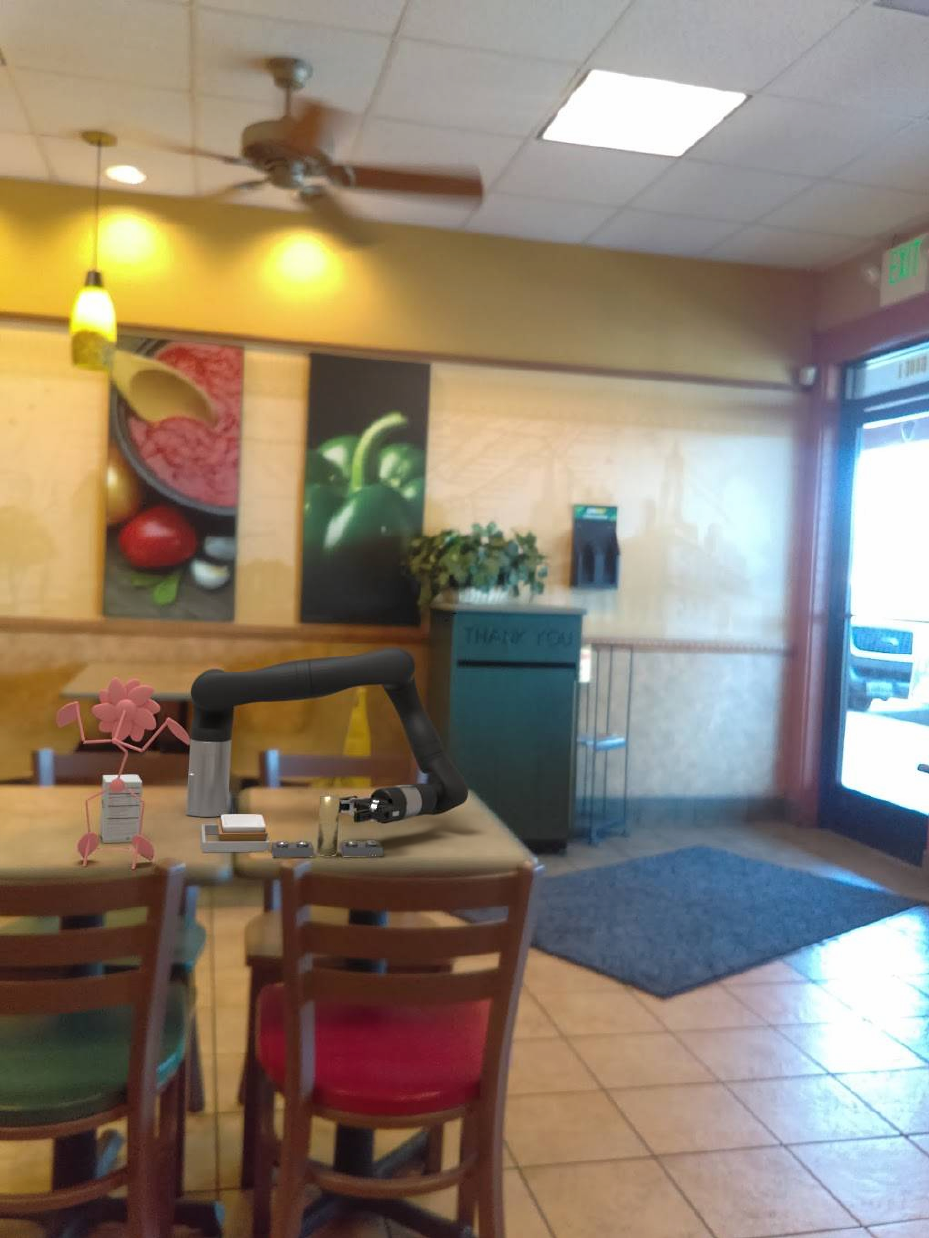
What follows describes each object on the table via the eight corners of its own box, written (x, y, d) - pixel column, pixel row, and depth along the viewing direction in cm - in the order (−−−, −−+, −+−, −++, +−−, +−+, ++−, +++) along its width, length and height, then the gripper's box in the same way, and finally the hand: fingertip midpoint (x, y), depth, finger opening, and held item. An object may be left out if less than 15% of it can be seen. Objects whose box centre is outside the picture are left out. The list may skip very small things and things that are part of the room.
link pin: (318, 857, 214) (321, 798, 213) (315, 851, 218) (318, 793, 217) (337, 856, 215) (341, 798, 214) (335, 851, 219) (338, 793, 218)
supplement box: (99, 834, 221) (102, 774, 221) (136, 833, 224) (139, 773, 223) (102, 843, 214) (105, 781, 214) (140, 842, 217) (143, 780, 217)
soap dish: (267, 851, 217) (268, 826, 217) (218, 851, 214) (219, 826, 214) (263, 835, 229) (264, 812, 229) (216, 836, 226) (217, 812, 226)
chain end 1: (272, 857, 211) (273, 844, 211) (271, 852, 215) (271, 839, 215) (313, 857, 213) (313, 844, 213) (310, 851, 217) (311, 839, 217)
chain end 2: (342, 857, 215) (343, 844, 215) (339, 851, 219) (340, 838, 219) (382, 856, 217) (382, 844, 217) (378, 851, 221) (378, 838, 221)
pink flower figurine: (177, 873, 196) (187, 684, 196) (37, 866, 196) (47, 676, 196) (197, 853, 212) (206, 678, 211) (67, 847, 211) (76, 671, 211)
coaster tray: (202, 852, 212) (202, 842, 212) (201, 833, 227) (201, 824, 227) (269, 851, 215) (269, 842, 215) (263, 833, 230) (264, 824, 230)
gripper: (373, 780, 235) (318, 789, 223) (420, 791, 226) (365, 801, 213) (372, 814, 235) (316, 824, 223) (419, 826, 226) (363, 838, 214)
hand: (340, 813), depth 218 cm, fingers open, 8 cm apart
